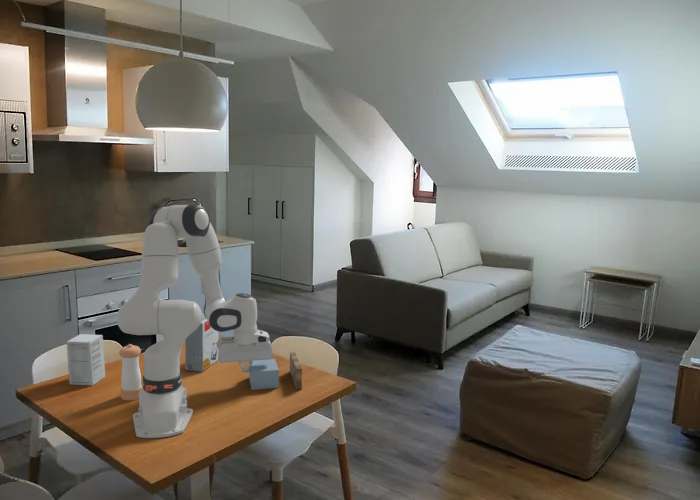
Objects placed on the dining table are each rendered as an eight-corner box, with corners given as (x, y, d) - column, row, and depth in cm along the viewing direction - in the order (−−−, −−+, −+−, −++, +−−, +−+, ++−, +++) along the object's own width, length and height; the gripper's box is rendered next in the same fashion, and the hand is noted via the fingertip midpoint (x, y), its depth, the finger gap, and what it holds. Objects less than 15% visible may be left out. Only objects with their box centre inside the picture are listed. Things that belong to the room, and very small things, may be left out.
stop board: (301, 388, 209) (301, 368, 208) (296, 389, 209) (296, 368, 207) (294, 371, 226) (294, 352, 225) (289, 371, 226) (289, 352, 225)
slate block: (278, 387, 210) (278, 370, 209) (251, 389, 208) (251, 371, 207) (274, 375, 222) (274, 358, 221) (249, 377, 219) (249, 360, 218)
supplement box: (106, 376, 217) (104, 334, 214) (93, 386, 208) (90, 342, 205) (82, 375, 218) (80, 333, 215) (68, 384, 209) (65, 341, 206)
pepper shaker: (122, 402, 195) (120, 349, 192) (119, 394, 201) (117, 343, 198) (144, 398, 198) (142, 346, 195) (140, 390, 205) (138, 340, 202)
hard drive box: (202, 372, 223) (201, 324, 220) (185, 370, 225) (183, 322, 221) (219, 359, 238) (218, 313, 235) (202, 357, 240) (201, 312, 236)
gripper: (217, 340, 205) (217, 376, 207) (273, 337, 210) (273, 372, 212) (216, 335, 211) (217, 370, 213) (271, 332, 216) (271, 366, 218)
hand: (245, 371), depth 213 cm, fingers closed
